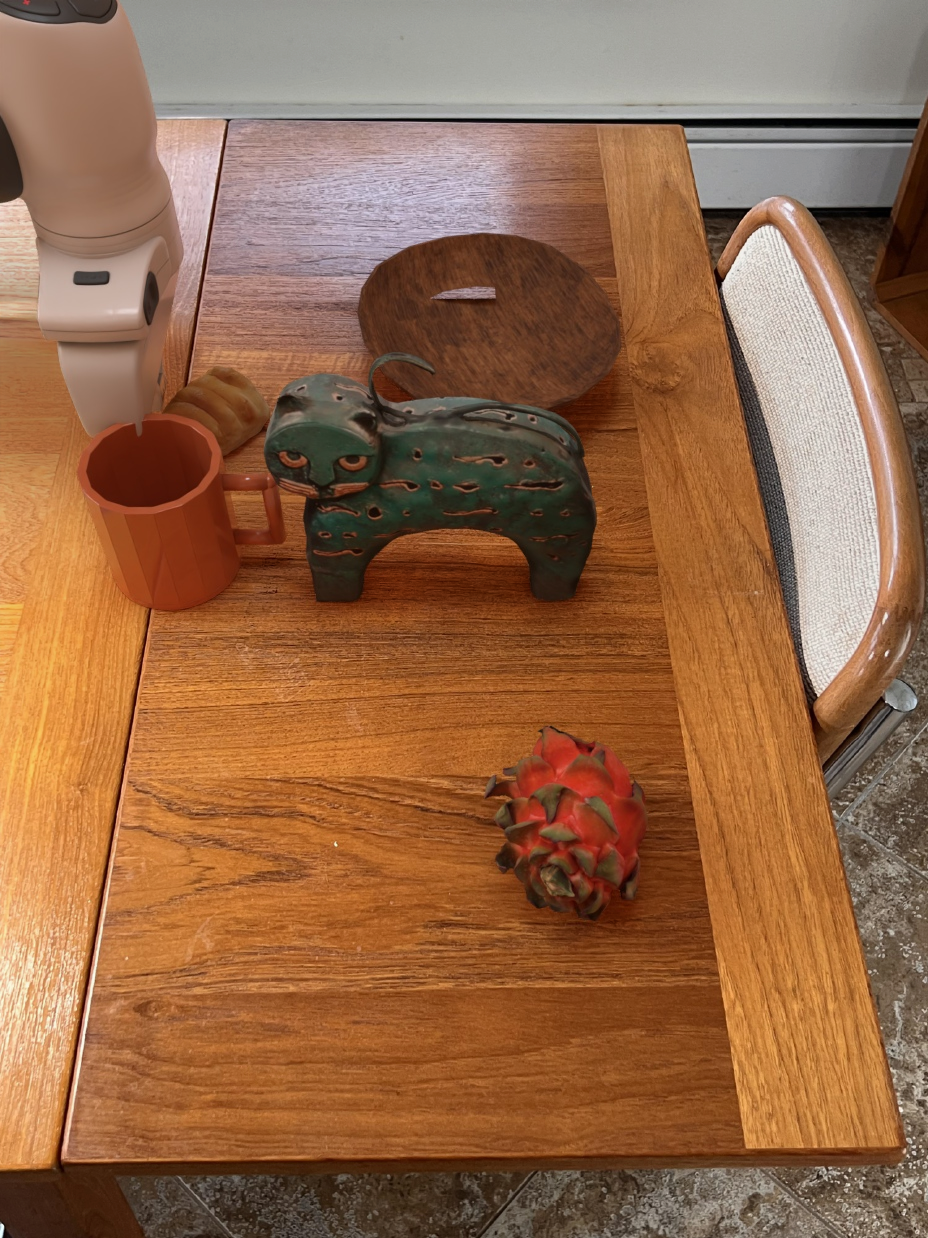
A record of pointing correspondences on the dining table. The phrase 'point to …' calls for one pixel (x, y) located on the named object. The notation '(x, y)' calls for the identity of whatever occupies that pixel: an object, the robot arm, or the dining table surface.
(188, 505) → the mug
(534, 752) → the dragon fruit
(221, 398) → the pastry
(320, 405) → the ceramic cat
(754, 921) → the dining table surface
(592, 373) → the bowl
